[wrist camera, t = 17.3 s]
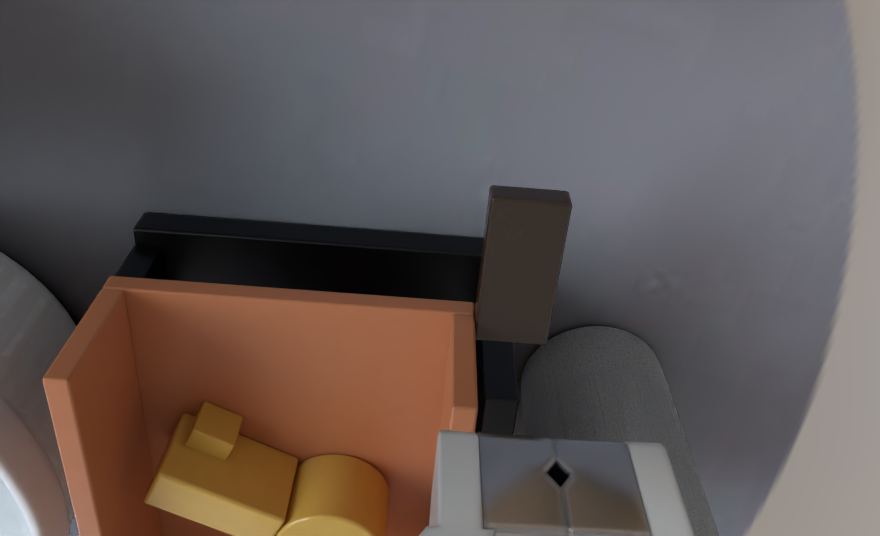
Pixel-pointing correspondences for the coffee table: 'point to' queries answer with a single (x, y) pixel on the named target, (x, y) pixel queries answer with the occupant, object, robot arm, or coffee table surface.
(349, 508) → the key
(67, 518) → the ramekin
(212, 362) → the tray
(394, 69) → the coffee table surface
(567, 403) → the planter
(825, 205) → the coffee table surface
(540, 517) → the robot arm
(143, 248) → the tray stand
